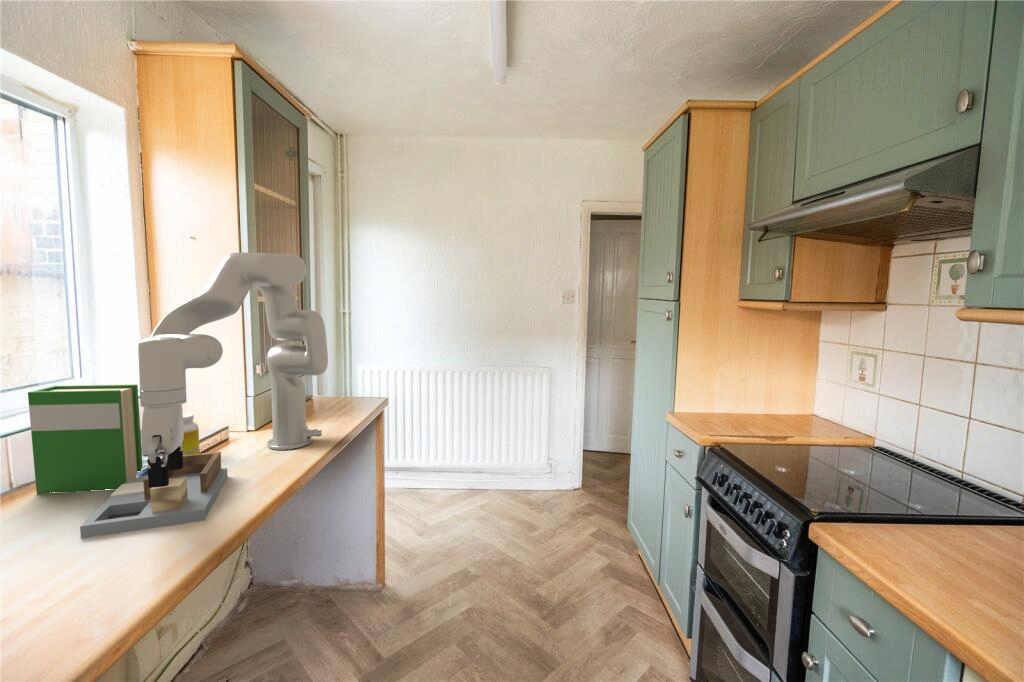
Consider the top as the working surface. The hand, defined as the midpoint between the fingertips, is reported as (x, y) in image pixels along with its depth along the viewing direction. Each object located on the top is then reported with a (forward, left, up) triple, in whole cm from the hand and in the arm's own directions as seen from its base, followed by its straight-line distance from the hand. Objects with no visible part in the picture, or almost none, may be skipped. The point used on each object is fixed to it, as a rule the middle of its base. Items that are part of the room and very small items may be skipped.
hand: (166, 477), depth 94 cm
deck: (+3, -8, -9) cm, 12 cm away
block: (0, 0, -6) cm, 6 cm away
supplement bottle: (+6, -37, -9) cm, 38 cm away
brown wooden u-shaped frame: (0, -12, -6) cm, 14 cm away
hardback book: (+22, -25, -9) cm, 34 cm away
